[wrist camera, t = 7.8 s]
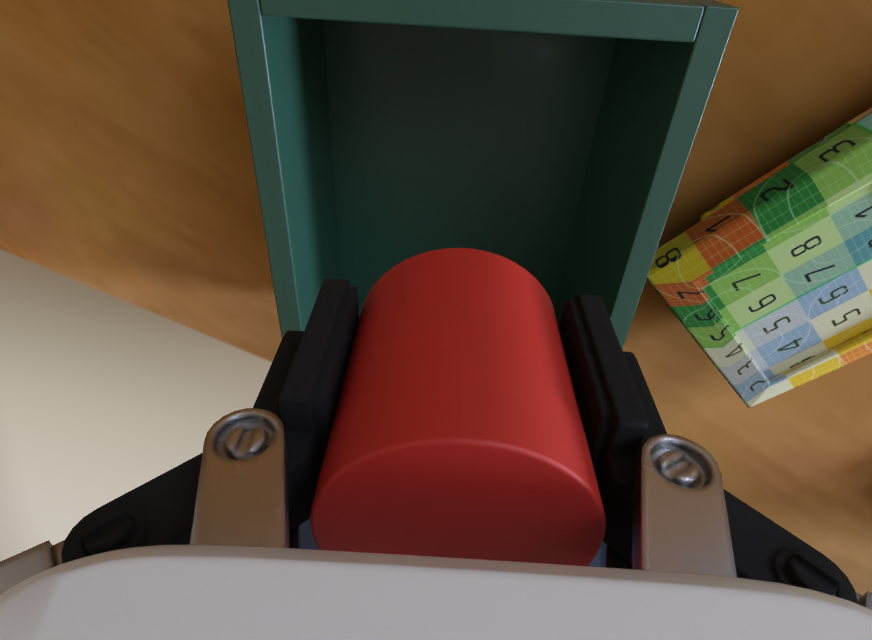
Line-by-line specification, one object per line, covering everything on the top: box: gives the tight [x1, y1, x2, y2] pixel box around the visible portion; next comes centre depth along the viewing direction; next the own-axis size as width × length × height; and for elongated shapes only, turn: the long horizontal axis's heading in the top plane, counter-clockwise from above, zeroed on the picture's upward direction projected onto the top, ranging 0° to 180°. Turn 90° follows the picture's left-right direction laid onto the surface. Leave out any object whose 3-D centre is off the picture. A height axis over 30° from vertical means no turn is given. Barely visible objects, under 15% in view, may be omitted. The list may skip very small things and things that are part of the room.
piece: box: [310, 248, 606, 566], centre depth 11 cm, size 5×5×6 cm
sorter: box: [227, 0, 739, 349], centre depth 23 cm, size 17×14×9 cm
